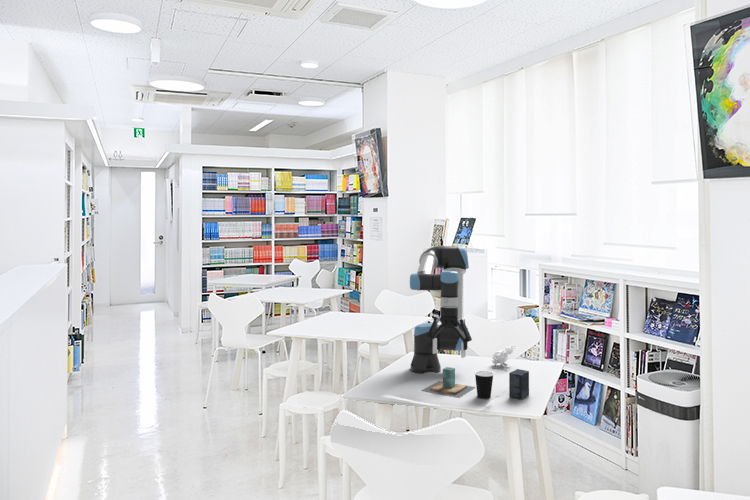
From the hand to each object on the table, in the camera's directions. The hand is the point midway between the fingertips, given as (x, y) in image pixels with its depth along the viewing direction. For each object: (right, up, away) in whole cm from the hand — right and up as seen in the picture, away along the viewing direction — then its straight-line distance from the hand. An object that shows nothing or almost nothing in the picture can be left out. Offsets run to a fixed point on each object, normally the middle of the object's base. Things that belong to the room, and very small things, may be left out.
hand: (448, 355), depth 229 cm
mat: (0, -16, +1) cm, 16 cm away
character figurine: (+35, -15, +45) cm, 59 cm away
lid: (0, -15, +1) cm, 15 cm away
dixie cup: (+13, -17, -10) cm, 23 cm away
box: (+29, -16, -6) cm, 34 cm away
